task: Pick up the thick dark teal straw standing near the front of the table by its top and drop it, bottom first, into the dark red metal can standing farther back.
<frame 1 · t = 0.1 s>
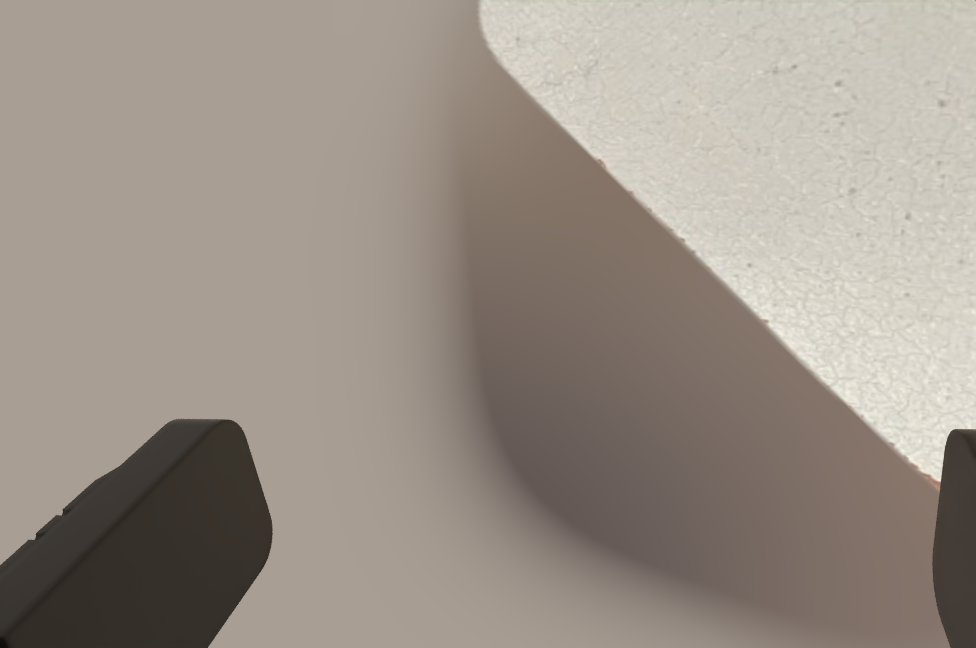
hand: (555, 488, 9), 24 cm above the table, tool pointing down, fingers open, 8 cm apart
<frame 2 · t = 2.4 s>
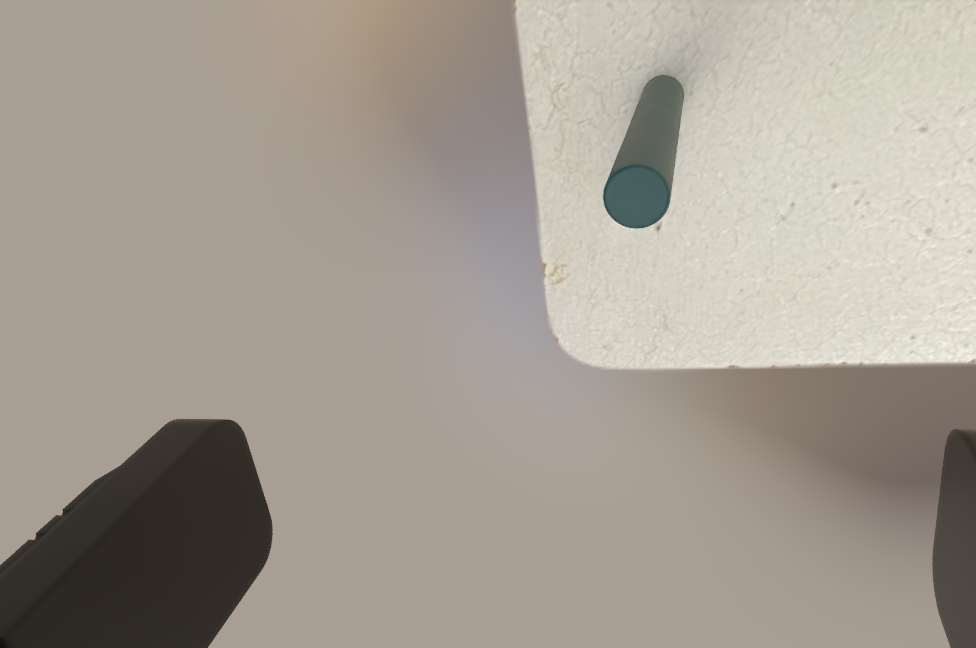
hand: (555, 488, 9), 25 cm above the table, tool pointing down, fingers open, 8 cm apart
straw: (662, 95, 31), on the table
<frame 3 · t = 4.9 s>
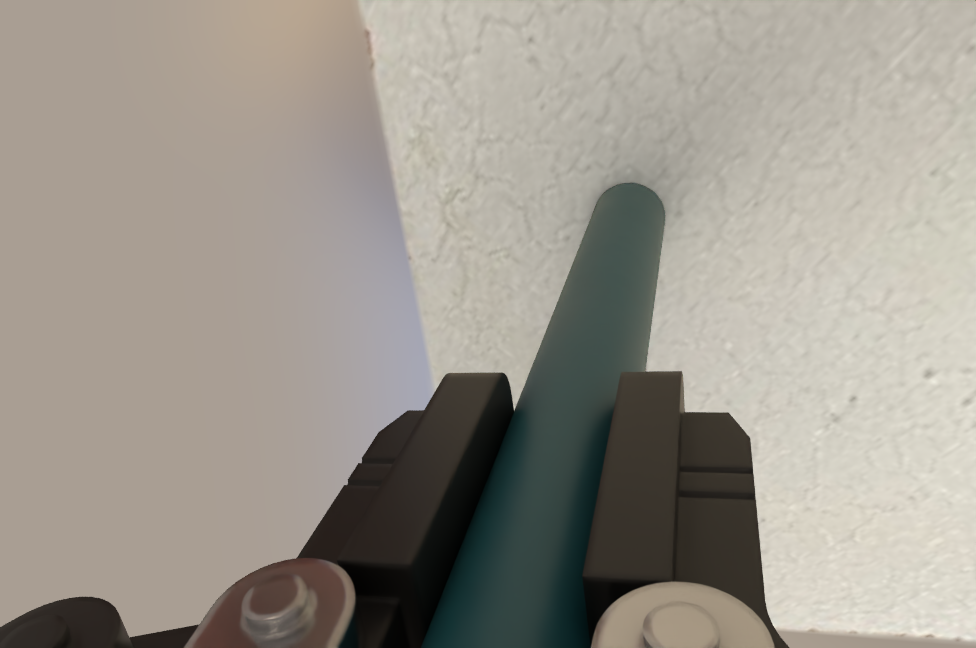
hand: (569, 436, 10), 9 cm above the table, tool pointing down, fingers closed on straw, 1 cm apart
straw: (629, 216, 18), on the table, touching gripper
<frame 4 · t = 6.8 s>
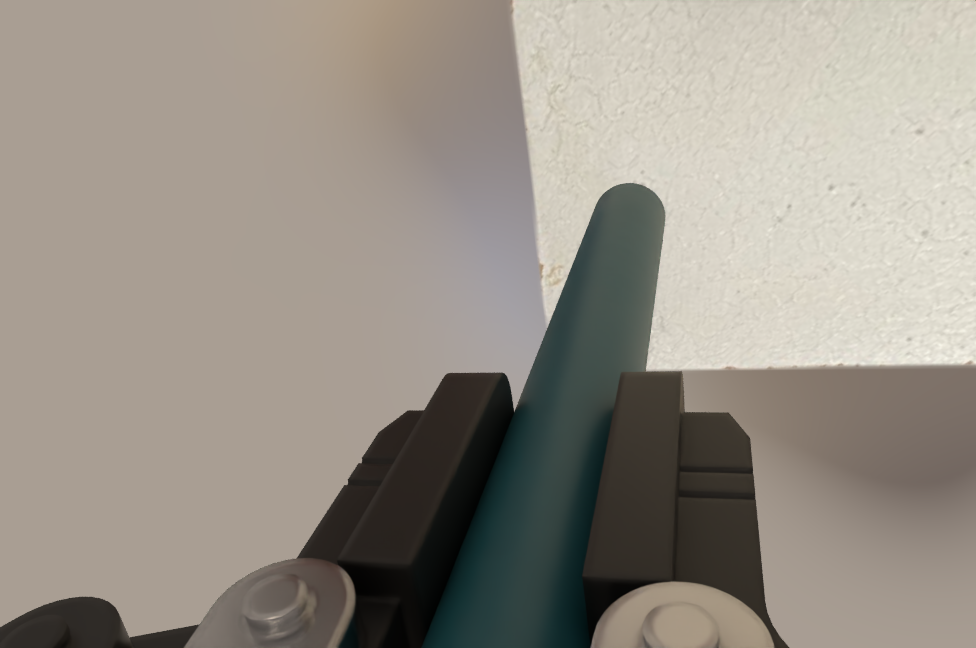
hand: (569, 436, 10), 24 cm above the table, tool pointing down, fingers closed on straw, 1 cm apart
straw: (629, 216, 18), point 15 cm above the table, touching gripper
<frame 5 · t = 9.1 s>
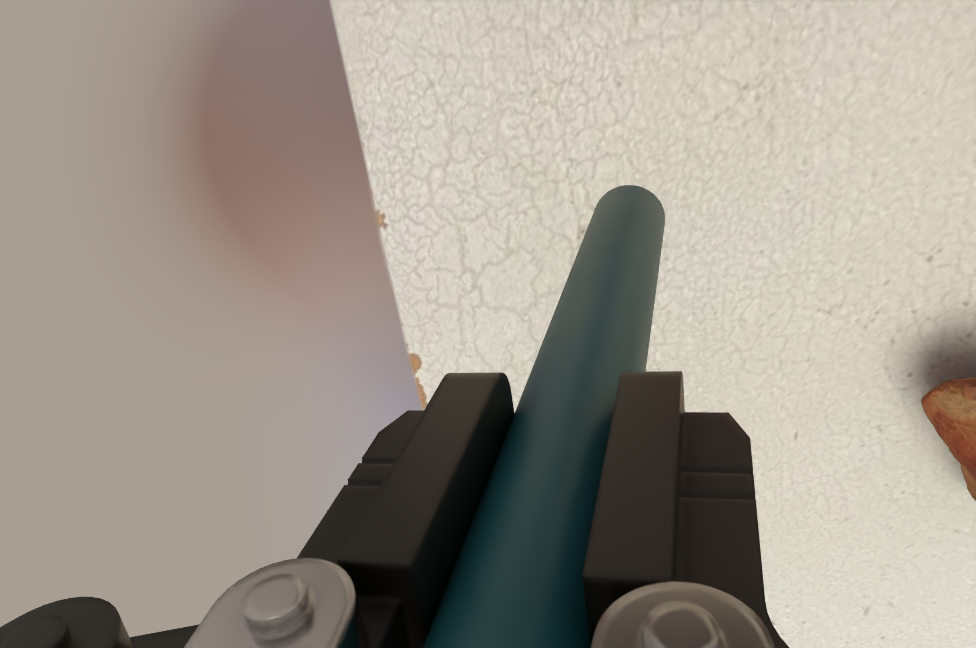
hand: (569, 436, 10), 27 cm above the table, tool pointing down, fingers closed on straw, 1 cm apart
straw: (629, 218, 18), point 18 cm above the table, touching gripper
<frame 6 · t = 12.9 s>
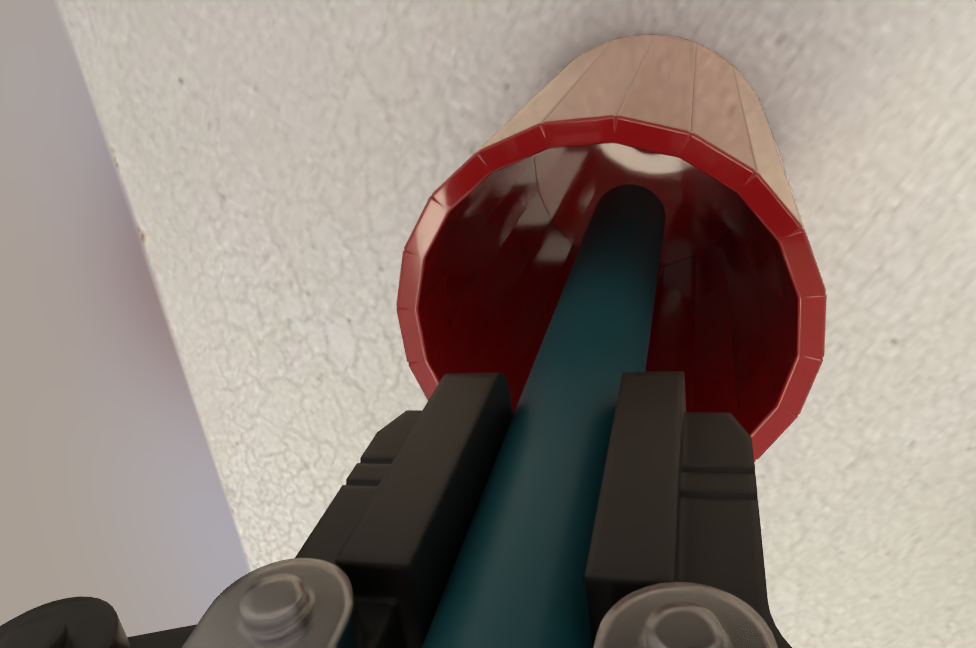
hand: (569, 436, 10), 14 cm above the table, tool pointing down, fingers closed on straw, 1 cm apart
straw: (629, 217, 18), point 5 cm above the table, touching gripper
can: (643, 161, 22), on the table
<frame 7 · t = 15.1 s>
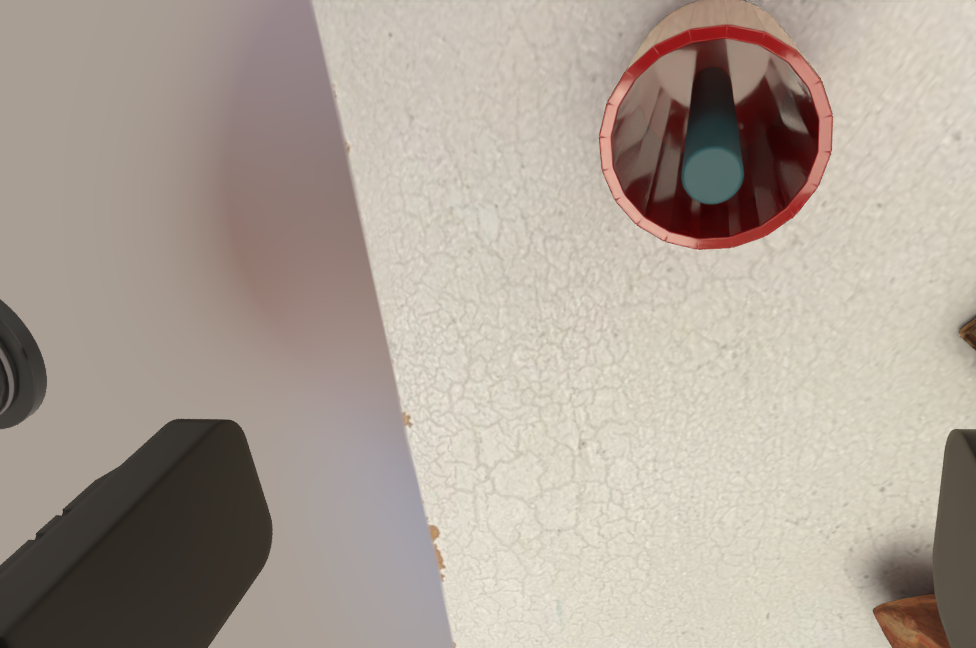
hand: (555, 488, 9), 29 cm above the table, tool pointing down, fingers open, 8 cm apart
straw: (711, 86, 33), resting on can
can: (711, 83, 33), on the table
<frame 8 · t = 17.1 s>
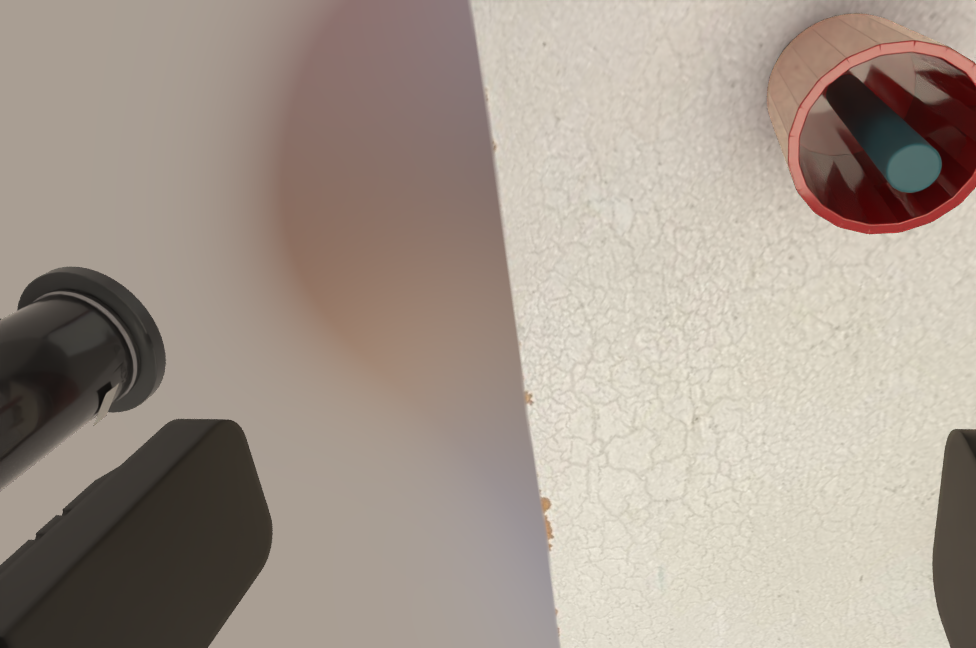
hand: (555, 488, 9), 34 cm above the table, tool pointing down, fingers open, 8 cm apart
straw: (844, 92, 37), resting on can
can: (842, 89, 37), on the table
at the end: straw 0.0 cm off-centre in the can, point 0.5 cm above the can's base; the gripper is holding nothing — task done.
